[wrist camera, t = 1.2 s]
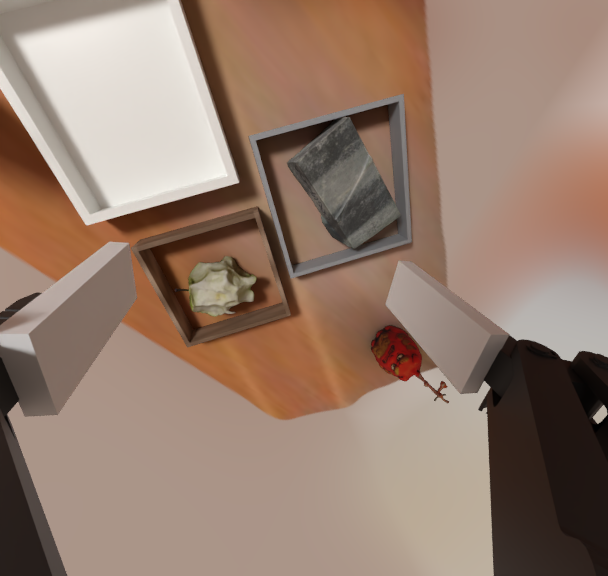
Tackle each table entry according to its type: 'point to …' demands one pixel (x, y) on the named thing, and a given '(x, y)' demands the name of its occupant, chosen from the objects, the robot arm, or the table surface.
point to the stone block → (344, 184)
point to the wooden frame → (170, 300)
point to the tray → (114, 101)
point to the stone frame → (400, 187)
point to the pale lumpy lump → (219, 287)
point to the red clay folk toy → (400, 356)
